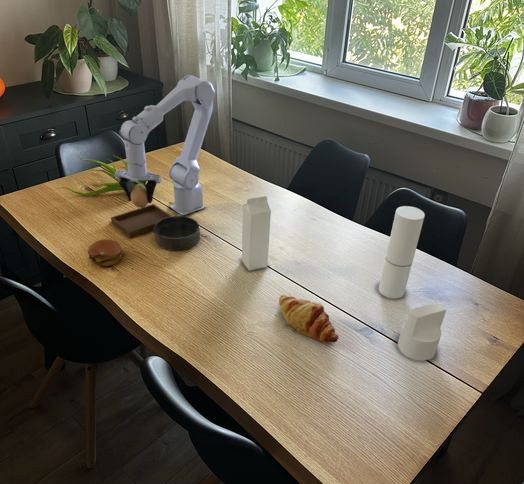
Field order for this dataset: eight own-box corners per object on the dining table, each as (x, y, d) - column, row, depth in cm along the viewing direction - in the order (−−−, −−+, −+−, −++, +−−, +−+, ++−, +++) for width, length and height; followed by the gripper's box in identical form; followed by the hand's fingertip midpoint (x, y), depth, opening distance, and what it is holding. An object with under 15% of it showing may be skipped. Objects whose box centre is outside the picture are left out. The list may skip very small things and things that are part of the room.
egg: (149, 211, 160) (147, 188, 155) (130, 211, 159) (127, 188, 155) (151, 202, 165) (149, 180, 160) (133, 202, 164) (130, 180, 159)
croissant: (271, 316, 134) (261, 301, 128) (296, 290, 136) (287, 274, 130) (327, 360, 121) (319, 345, 115) (354, 331, 123) (347, 315, 117)
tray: (154, 209, 174) (153, 203, 172) (173, 223, 166) (173, 217, 165) (111, 222, 165) (110, 217, 163) (129, 238, 157) (129, 232, 156)
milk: (267, 267, 148) (272, 200, 135) (248, 271, 145) (251, 204, 133) (259, 256, 152) (263, 191, 139) (241, 260, 150) (243, 194, 137)
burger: (119, 246, 153) (117, 233, 150) (126, 262, 146) (124, 249, 143) (86, 253, 149) (84, 240, 147) (91, 270, 142) (89, 256, 140)
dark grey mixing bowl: (183, 223, 166) (183, 211, 164) (208, 241, 158) (208, 229, 155) (146, 236, 158) (144, 224, 156) (170, 256, 150) (169, 243, 147)
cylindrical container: (405, 286, 142) (425, 209, 128) (402, 301, 137) (423, 221, 123) (380, 281, 144) (397, 204, 130) (376, 294, 139) (394, 216, 124)
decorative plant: (83, 177, 192) (76, 140, 184) (150, 191, 184) (146, 153, 176) (51, 195, 178) (43, 156, 170) (122, 212, 170) (117, 172, 162)
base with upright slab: (413, 364, 117) (424, 326, 110) (390, 340, 124) (400, 302, 117) (443, 354, 120) (456, 317, 113) (419, 331, 127) (430, 294, 120)
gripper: (108, 163, 150) (114, 203, 158) (154, 168, 149) (158, 208, 157) (117, 154, 156) (122, 194, 164) (162, 159, 155) (165, 198, 162)
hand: (140, 200), depth 161 cm, fingers closed on egg, 6 cm apart
